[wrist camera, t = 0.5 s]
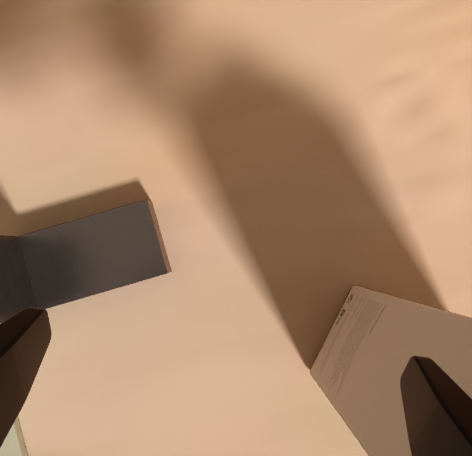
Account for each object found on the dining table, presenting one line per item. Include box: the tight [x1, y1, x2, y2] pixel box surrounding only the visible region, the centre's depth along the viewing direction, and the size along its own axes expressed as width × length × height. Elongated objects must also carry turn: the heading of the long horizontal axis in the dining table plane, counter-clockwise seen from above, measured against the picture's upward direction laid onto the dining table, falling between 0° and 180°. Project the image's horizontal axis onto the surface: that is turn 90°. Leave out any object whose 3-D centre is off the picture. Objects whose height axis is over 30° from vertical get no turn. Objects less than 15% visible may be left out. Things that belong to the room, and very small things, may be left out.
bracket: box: [0, 200, 172, 323], centre depth 20 cm, size 4×9×10 cm, turn 106°
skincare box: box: [310, 285, 472, 456], centre depth 17 cm, size 8×7×16 cm
